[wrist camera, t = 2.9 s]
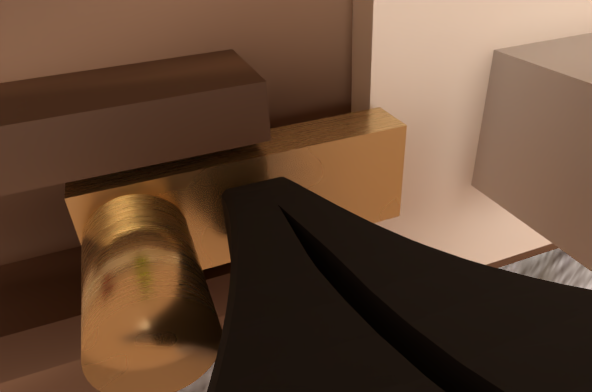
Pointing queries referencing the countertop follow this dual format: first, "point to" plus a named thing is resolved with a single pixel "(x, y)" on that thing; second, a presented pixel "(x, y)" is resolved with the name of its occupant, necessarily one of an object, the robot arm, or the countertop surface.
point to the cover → (484, 120)
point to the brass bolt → (203, 240)
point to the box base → (136, 131)
